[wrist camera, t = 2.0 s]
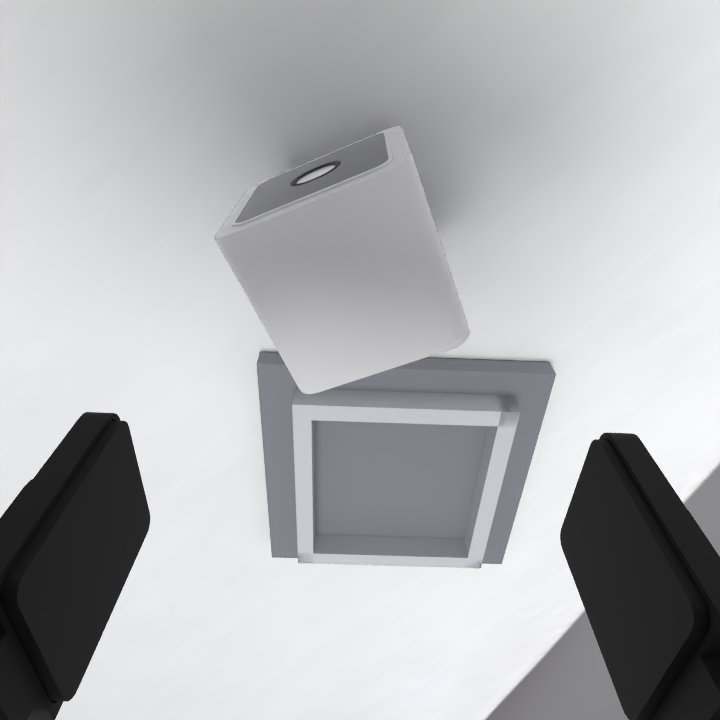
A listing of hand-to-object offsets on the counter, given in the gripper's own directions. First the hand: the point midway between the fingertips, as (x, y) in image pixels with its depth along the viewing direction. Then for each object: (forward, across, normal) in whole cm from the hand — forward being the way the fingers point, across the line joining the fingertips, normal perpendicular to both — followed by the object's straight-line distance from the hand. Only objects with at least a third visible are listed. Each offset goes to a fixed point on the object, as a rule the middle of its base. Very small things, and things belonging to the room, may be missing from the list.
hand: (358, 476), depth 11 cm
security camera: (+17, 0, -1) cm, 17 cm away
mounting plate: (+17, -3, +15) cm, 23 cm away
